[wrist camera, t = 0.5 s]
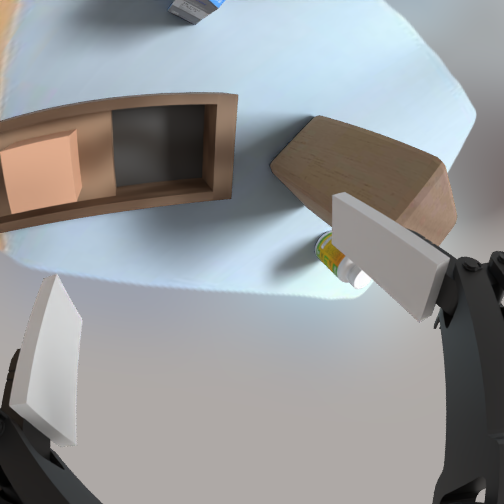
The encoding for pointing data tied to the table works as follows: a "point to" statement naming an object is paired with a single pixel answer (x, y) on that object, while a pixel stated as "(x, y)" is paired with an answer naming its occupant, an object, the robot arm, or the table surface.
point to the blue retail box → (194, 9)
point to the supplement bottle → (340, 262)
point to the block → (367, 176)
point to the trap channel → (134, 153)
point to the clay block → (42, 171)
